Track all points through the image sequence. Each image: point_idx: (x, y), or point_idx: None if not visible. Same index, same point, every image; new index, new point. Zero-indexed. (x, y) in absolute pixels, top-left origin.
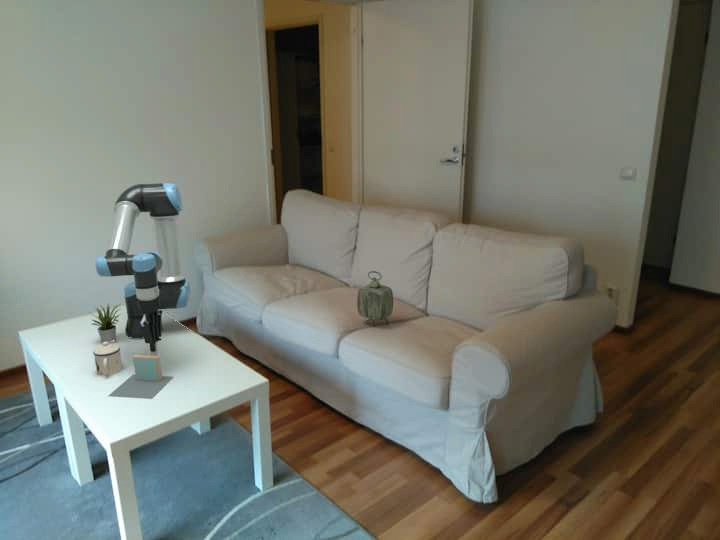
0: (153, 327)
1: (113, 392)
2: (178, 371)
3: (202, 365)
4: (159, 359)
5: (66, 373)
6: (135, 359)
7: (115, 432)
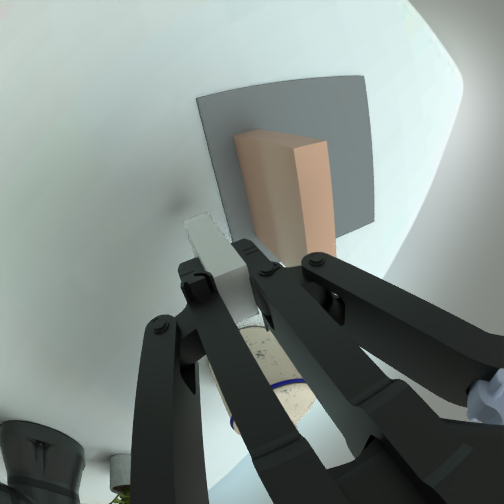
0: (354, 376)
1: (357, 225)
2: (134, 128)
3: (41, 76)
4: (287, 144)
5: None
6: None
7: (454, 90)
